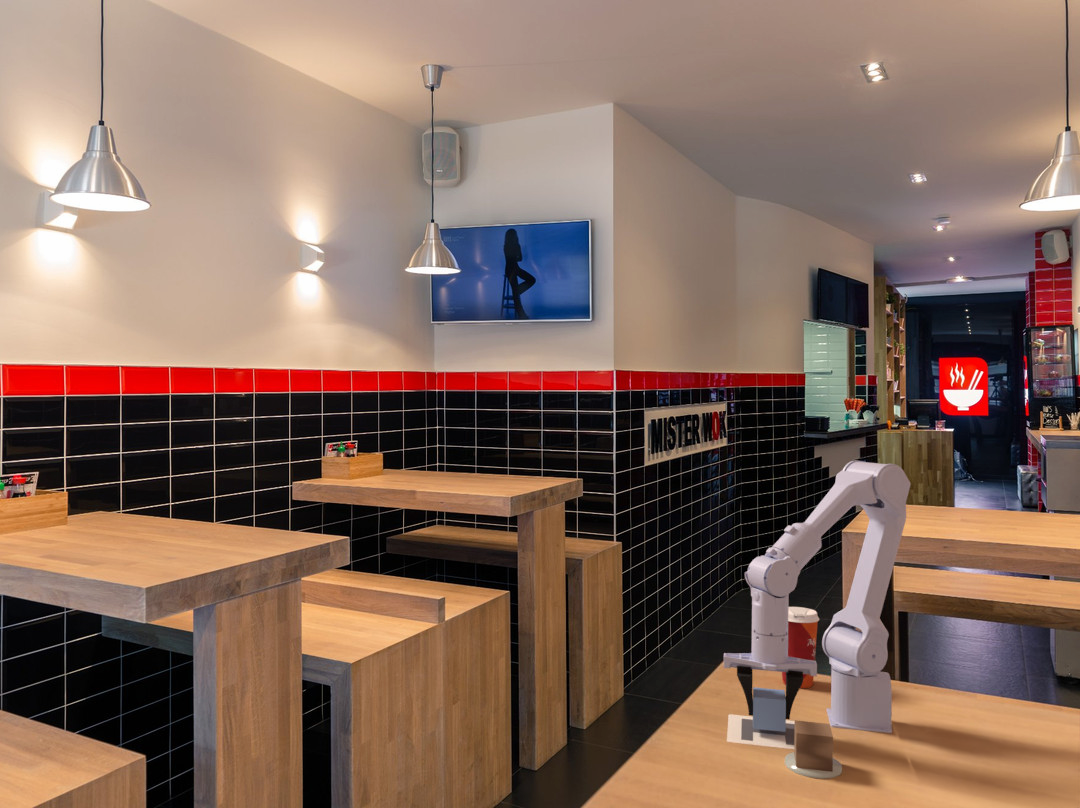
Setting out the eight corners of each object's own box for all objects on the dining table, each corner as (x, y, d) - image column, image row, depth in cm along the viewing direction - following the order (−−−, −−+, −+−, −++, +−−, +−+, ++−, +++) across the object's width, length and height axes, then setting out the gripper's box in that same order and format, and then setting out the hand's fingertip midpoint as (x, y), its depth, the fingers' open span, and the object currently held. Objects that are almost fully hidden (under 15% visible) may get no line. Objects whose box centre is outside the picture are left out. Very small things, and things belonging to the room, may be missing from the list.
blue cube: (784, 720, 134) (784, 690, 134) (785, 731, 130) (785, 700, 130) (752, 717, 136) (753, 687, 136) (753, 728, 131) (753, 697, 131)
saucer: (838, 760, 123) (838, 754, 123) (845, 783, 115) (845, 777, 115) (783, 753, 125) (783, 748, 125) (785, 776, 117) (785, 771, 117)
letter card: (808, 724, 137) (808, 722, 137) (813, 753, 125) (813, 751, 125) (728, 715, 140) (728, 713, 140) (726, 743, 128) (726, 741, 128)
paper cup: (821, 691, 152) (822, 616, 153) (778, 688, 154) (779, 614, 154) (815, 678, 160) (816, 607, 160) (775, 675, 162) (776, 604, 162)
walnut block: (829, 757, 122) (829, 723, 122) (832, 771, 117) (833, 737, 117) (794, 753, 123) (794, 720, 123) (796, 767, 118) (796, 733, 118)
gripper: (723, 634, 130) (722, 719, 130) (818, 641, 127) (817, 729, 127) (724, 623, 137) (723, 704, 137) (815, 630, 134) (814, 713, 134)
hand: (768, 715), depth 132 cm, fingers closed on blue cube, 5 cm apart
